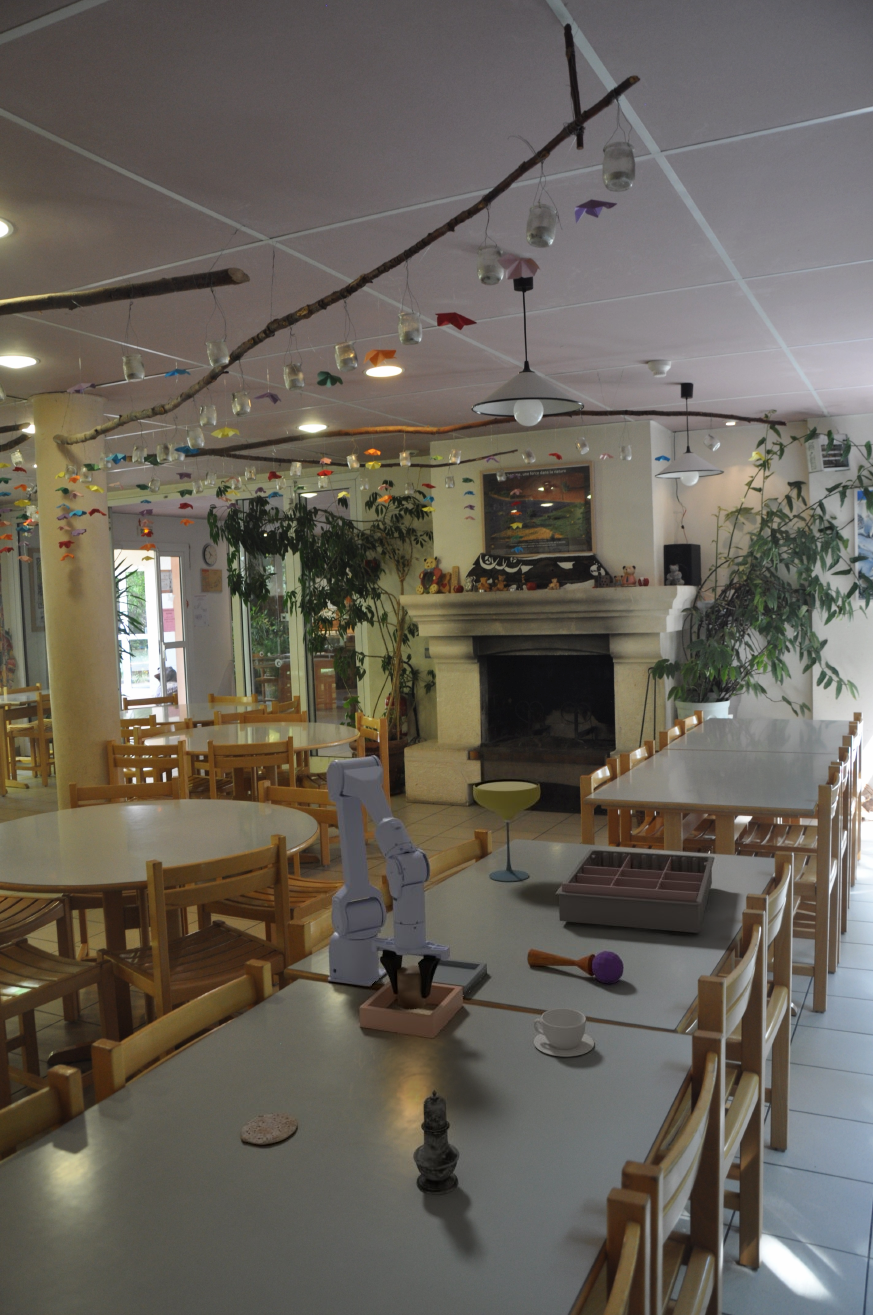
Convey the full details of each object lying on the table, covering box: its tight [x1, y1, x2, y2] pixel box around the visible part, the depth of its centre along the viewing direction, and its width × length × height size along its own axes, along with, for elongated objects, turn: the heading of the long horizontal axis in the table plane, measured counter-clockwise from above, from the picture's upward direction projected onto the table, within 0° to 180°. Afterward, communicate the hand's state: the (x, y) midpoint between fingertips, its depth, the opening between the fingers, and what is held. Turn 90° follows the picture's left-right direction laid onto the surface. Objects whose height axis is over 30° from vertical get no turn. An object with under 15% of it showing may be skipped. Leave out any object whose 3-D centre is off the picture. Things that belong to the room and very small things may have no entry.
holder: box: [358, 980, 464, 1039], centre depth 169 cm, size 14×14×4 cm
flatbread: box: [240, 1112, 299, 1146], centre depth 133 cm, size 8×8×1 cm
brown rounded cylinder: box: [397, 965, 427, 1011], centre depth 169 cm, size 5×5×6 cm
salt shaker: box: [412, 1089, 460, 1196], centre depth 120 cm, size 6×6×12 cm
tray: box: [432, 957, 488, 997], centre depth 185 cm, size 12×12×2 cm
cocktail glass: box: [472, 778, 541, 883], centre depth 255 cm, size 18×18×25 cm
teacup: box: [533, 1007, 595, 1058], centre depth 157 cm, size 10×10×5 cm
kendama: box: [526, 948, 625, 984], centre depth 186 cm, size 6×6×20 cm
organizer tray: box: [554, 849, 715, 934], centre depth 227 cm, size 32×40×10 cm
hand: (411, 994), depth 169 cm, fingers closed on brown rounded cylinder, 5 cm apart
